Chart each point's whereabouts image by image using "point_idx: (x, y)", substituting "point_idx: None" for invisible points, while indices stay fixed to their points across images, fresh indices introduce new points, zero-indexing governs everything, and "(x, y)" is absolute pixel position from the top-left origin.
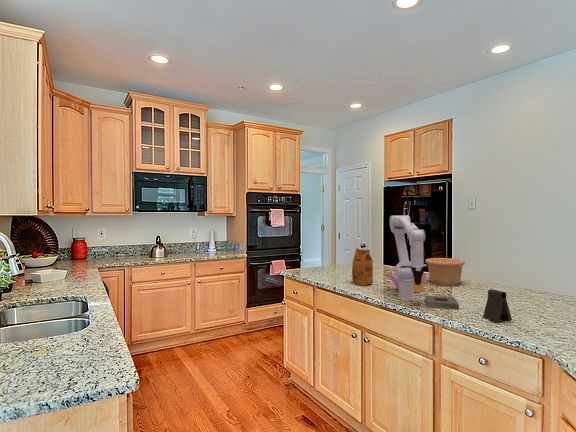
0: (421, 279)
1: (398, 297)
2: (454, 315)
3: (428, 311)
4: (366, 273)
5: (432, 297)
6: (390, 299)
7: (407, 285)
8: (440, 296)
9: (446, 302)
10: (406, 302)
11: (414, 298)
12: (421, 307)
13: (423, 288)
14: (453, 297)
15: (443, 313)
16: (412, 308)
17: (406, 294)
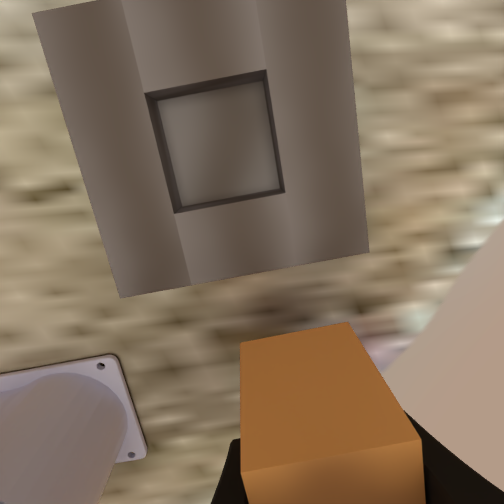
0: (421, 460)
1: (132, 459)
2: (485, 23)
3: (422, 225)
4: None
5: (164, 229)
6: (187, 489)
7: (79, 500)
8: (80, 159)
9: (320, 85)
10: (223, 391)
11: (108, 361)
12: (326, 283)
13: (362, 345)
14: (56, 17)
15: (448, 114)
16: (375, 333)
17: (116, 433)
